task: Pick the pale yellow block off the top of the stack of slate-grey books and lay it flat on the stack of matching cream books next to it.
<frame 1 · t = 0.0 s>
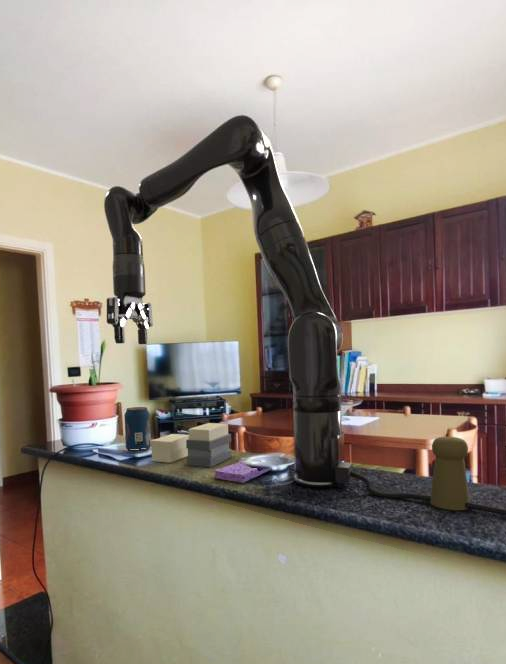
hand: (131, 343, 104), 29 cm above the worktop, tool pointing down, fingers open, 8 cm apart
soda can: (138, 451, 120), on the worktop
cork: (449, 505, 70), on the worktop
sponge: (244, 474, 92), on the worktop
pale yellow block: (209, 436, 105), point 6 cm above the worktop, touching grey books
cream books: (172, 457, 110), on the worktop
grey books: (209, 460, 105), on the worktop
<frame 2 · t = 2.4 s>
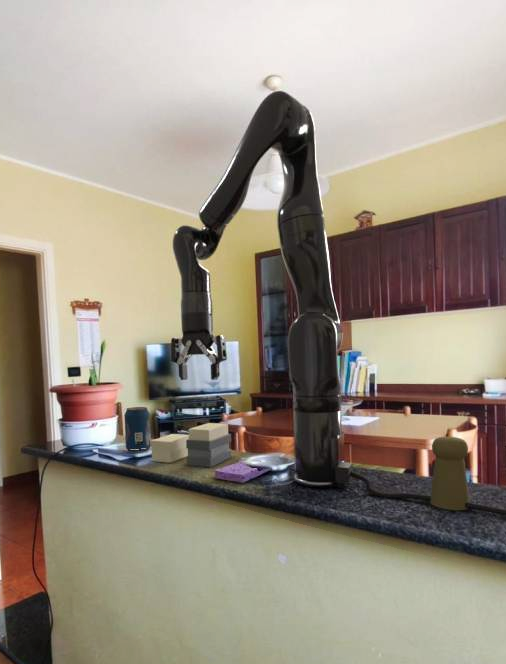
hand: (199, 379, 104), 20 cm above the worktop, tool pointing down, fingers open, 8 cm apart
nothing on the worktop moved.
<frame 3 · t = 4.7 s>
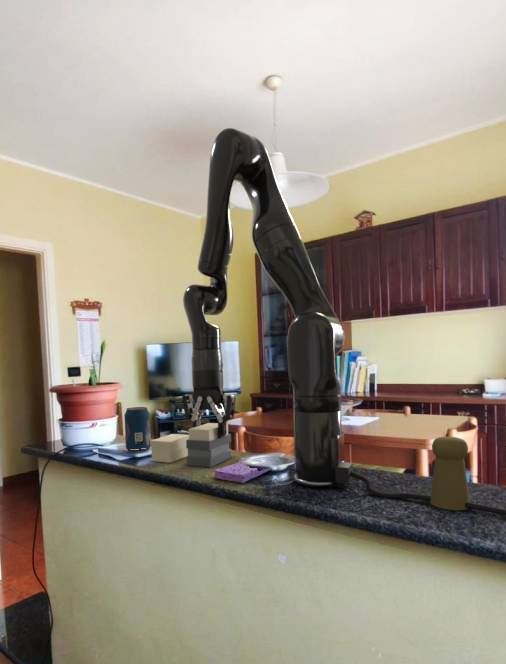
hand: (209, 436, 105), 6 cm above the worktop, tool pointing down, fingers closed on grey books, 6 cm apart
pale yellow block: (209, 436, 105), point 6 cm above the worktop, touching grey books, gripper
everything else where it was.
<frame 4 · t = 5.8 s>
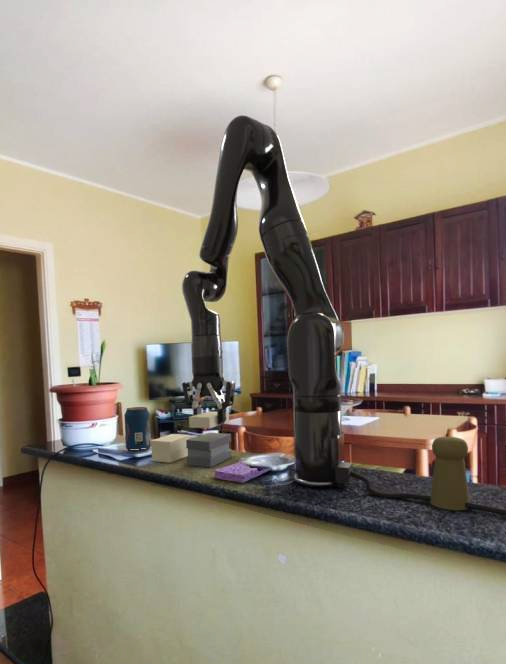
hand: (209, 423, 105), 9 cm above the worktop, tool pointing down, fingers closed on pale yellow block, 5 cm apart
pale yellow block: (209, 424, 105), point 9 cm above the worktop, touching gripper
everything else where it was.
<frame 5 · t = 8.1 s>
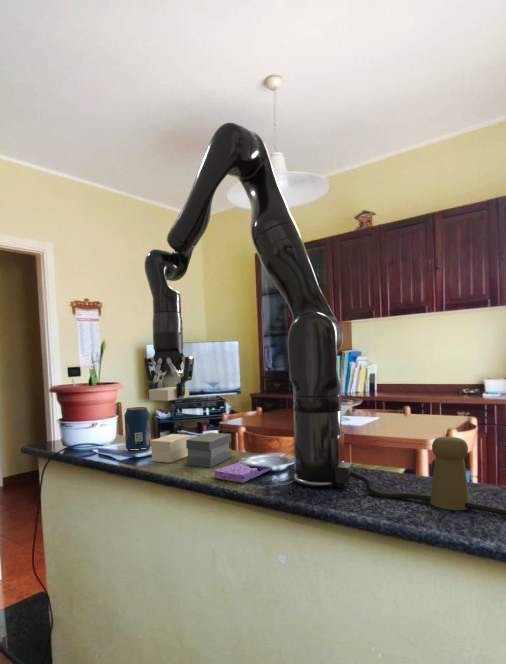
hand: (169, 397, 109), 16 cm above the worktop, tool pointing down, fingers closed on pale yellow block, 5 cm apart
pale yellow block: (169, 398, 109), point 15 cm above the worktop, touching gripper
everything else where it was.
when the fingers open (5 cm above the worktop, at t = 10.5 s): pale yellow block stays where it is, resting on cream books.
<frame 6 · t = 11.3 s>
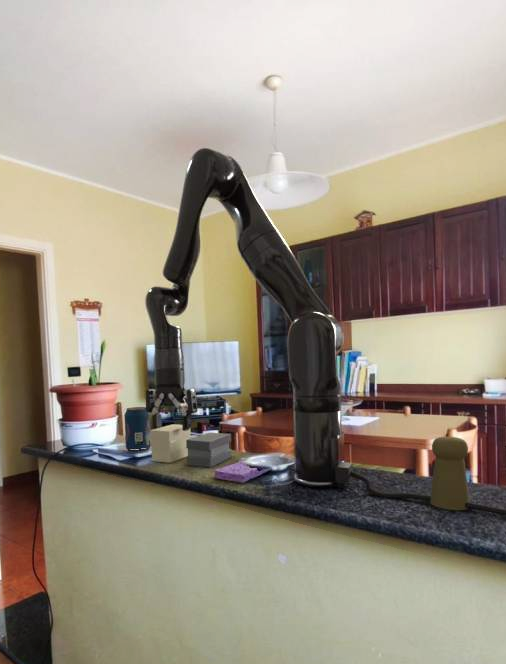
hand: (172, 429, 110), 7 cm above the worktop, tool pointing down, fingers open, 8 cm apart
pale yellow block: (171, 437, 110), point 5 cm above the worktop, touching cream books
everything else where it was.
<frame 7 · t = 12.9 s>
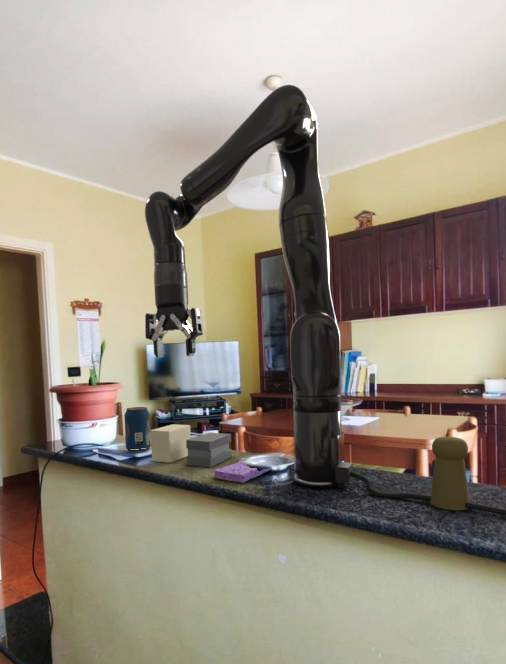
hand: (174, 356, 98), 26 cm above the worktop, tool pointing down, fingers open, 8 cm apart
nothing on the worktop moved.
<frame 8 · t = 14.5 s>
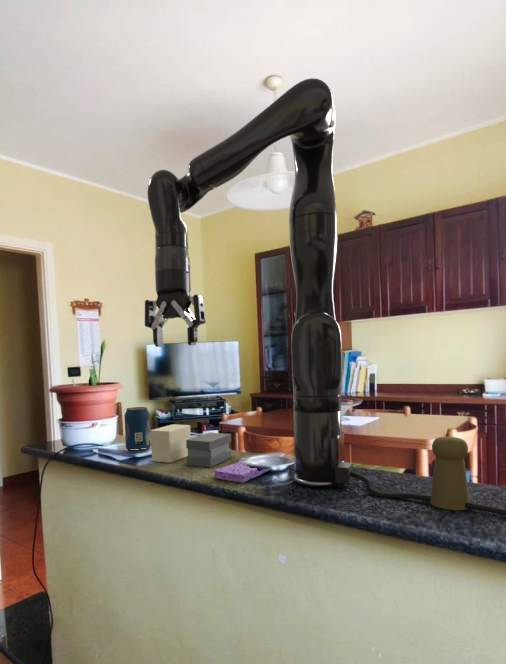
hand: (175, 345, 94), 28 cm above the worktop, tool pointing down, fingers open, 8 cm apart
nothing on the worktop moved.
at the end: pale yellow block 0.1 cm off-centre on the cream books, point 5.2 cm above the cream books's base; pale yellow block tilted 0°; the gripper is holding nothing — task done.
